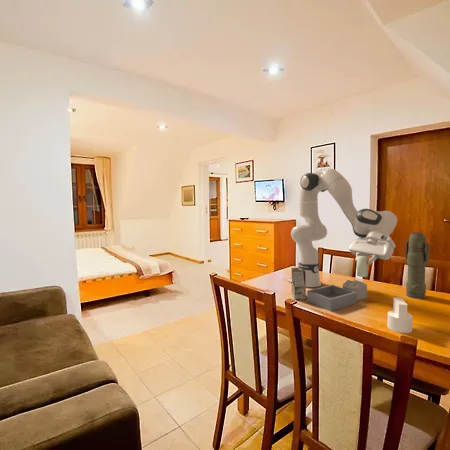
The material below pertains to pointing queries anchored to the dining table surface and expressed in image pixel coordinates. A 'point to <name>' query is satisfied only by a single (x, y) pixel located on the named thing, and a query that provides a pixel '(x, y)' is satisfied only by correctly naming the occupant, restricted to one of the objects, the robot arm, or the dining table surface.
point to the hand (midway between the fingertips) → (362, 262)
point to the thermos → (416, 265)
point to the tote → (331, 297)
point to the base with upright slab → (399, 317)
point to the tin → (362, 266)
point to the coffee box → (298, 283)
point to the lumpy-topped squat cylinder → (356, 288)
